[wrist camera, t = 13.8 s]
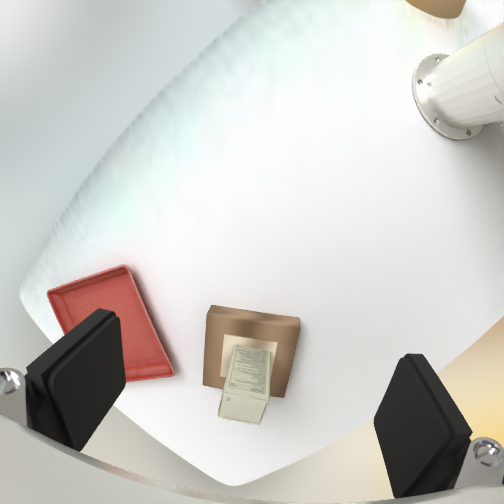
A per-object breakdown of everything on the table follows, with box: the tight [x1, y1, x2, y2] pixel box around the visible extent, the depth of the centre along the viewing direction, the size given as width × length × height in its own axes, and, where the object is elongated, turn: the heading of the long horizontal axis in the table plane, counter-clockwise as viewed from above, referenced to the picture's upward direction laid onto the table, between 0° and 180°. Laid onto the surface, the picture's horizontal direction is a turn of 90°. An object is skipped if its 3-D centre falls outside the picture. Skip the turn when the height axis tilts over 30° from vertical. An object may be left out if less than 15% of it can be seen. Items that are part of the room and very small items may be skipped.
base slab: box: [203, 305, 300, 398], centre depth 41 cm, size 12×12×3 cm
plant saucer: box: [47, 264, 175, 382], centre depth 43 cm, size 18×18×3 cm
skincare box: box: [218, 344, 271, 425], centre depth 35 cm, size 5×4×10 cm
